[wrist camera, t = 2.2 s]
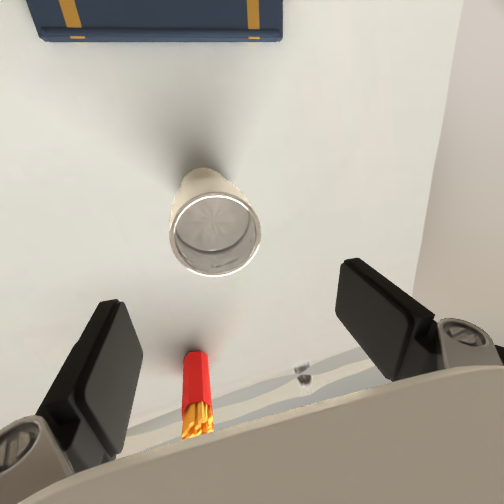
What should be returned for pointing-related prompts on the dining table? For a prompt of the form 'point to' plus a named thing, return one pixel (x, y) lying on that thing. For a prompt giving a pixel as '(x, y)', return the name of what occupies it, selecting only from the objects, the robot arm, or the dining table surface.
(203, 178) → the beer glass
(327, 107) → the dining table surface
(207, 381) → the french fries
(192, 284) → the dining table surface
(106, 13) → the blue striped flat box
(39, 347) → the dining table surface
